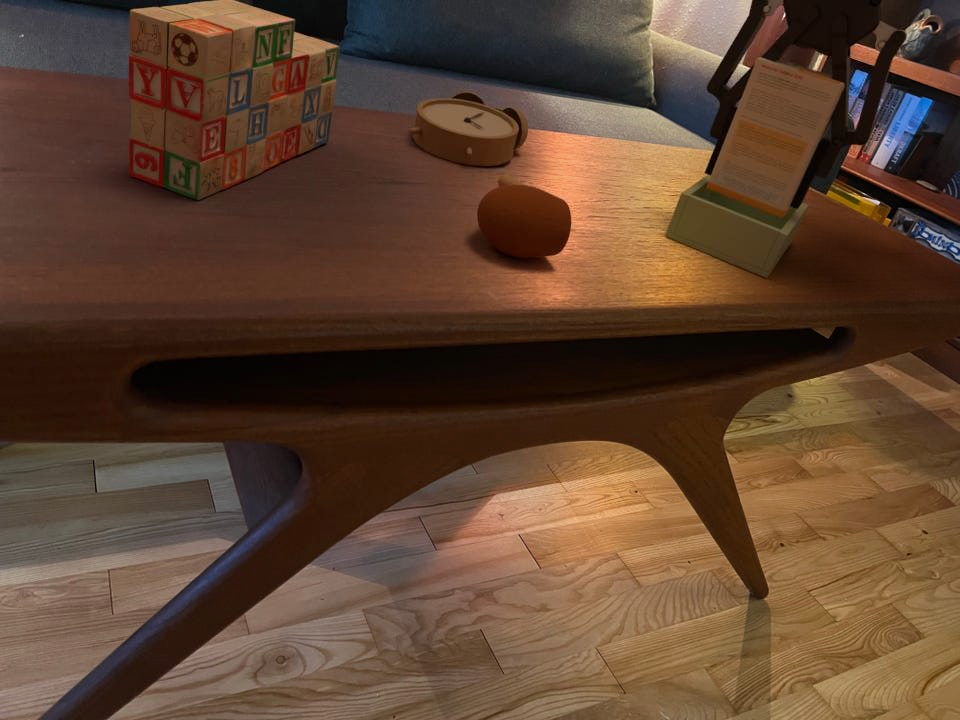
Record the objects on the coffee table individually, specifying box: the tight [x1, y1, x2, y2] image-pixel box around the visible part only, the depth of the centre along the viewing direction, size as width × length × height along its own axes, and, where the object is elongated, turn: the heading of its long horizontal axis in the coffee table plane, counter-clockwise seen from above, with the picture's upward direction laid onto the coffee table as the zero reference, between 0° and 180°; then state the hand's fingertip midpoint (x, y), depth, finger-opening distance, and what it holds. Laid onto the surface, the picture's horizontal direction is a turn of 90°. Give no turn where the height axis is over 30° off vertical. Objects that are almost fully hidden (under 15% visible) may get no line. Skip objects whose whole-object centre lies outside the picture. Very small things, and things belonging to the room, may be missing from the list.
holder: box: [664, 174, 809, 279], centre depth 80 cm, size 11×14×5 cm
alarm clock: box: [408, 91, 529, 167], centre depth 86 cm, size 11×5×15 cm
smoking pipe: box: [476, 173, 572, 259], centre depth 69 cm, size 7×18×6 cm, turn 7°
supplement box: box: [707, 56, 845, 218], centre depth 76 cm, size 8×5×13 cm, turn 58°
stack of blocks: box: [128, 0, 341, 201], centre depth 65 cm, size 21×6×12 cm, turn 162°
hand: (752, 188), depth 78 cm, fingers closed on supplement box, 8 cm apart
